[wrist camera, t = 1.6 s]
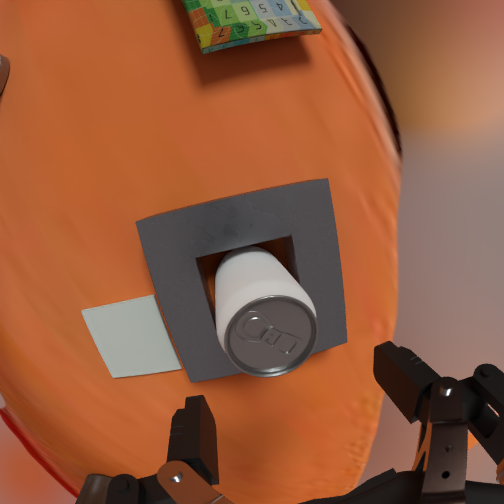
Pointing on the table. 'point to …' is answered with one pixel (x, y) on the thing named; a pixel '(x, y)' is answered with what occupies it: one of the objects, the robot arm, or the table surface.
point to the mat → (132, 337)
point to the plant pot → (94, 490)
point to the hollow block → (234, 236)
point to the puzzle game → (247, 21)
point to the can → (262, 314)
